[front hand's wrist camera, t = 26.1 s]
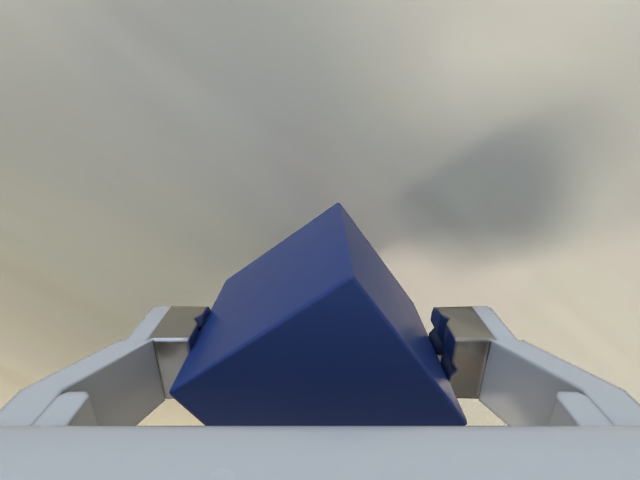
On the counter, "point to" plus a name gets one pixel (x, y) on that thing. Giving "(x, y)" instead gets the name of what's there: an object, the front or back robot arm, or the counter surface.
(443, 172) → the counter surface
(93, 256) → the counter surface
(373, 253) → the brick
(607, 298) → the counter surface
